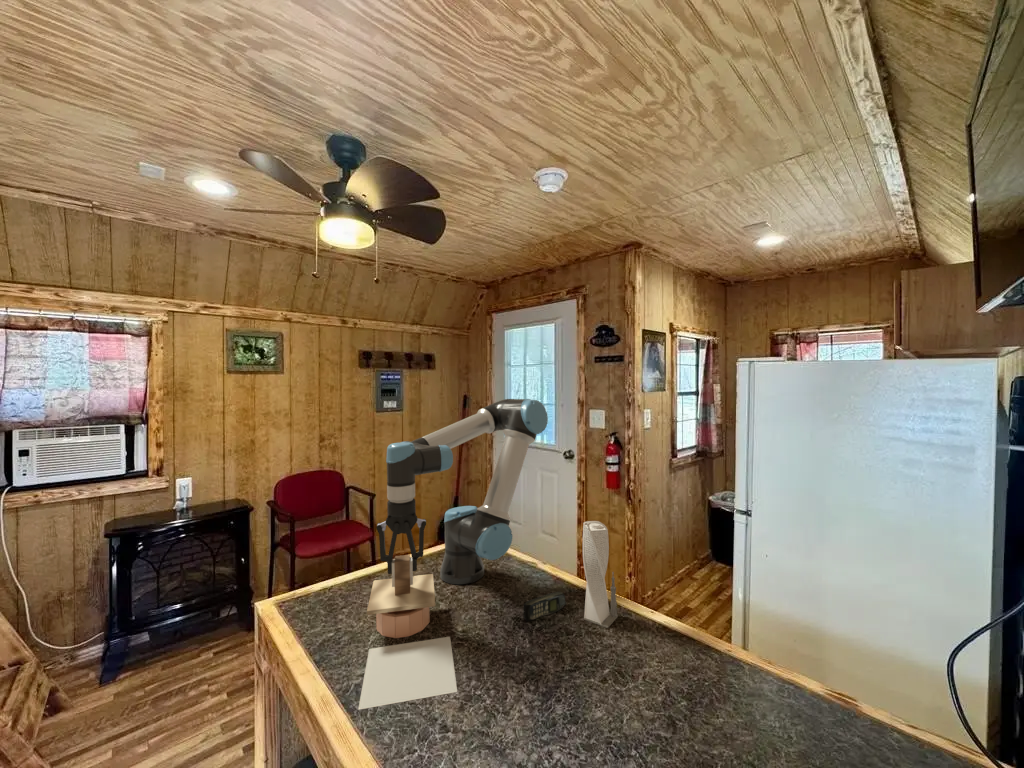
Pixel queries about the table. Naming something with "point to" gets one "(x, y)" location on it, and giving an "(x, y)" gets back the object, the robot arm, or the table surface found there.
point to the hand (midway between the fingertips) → (402, 583)
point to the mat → (408, 672)
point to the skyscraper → (597, 575)
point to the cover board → (401, 601)
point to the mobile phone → (543, 605)
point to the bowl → (402, 622)
